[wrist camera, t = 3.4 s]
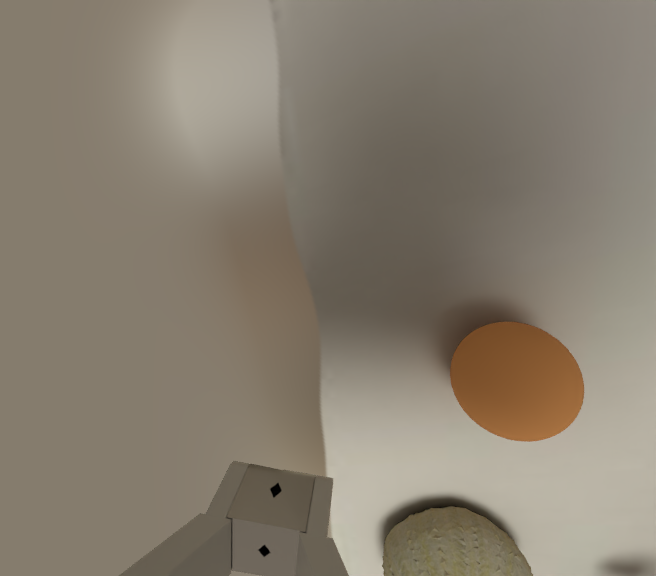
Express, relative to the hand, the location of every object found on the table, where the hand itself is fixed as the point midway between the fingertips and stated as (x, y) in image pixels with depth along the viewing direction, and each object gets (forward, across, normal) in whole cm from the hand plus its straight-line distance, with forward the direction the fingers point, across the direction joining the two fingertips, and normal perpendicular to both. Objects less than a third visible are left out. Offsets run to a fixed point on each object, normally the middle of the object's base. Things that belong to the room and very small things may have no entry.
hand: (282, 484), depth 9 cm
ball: (+7, -10, 0) cm, 12 cm away
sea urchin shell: (+11, -10, +15) cm, 21 cm away
